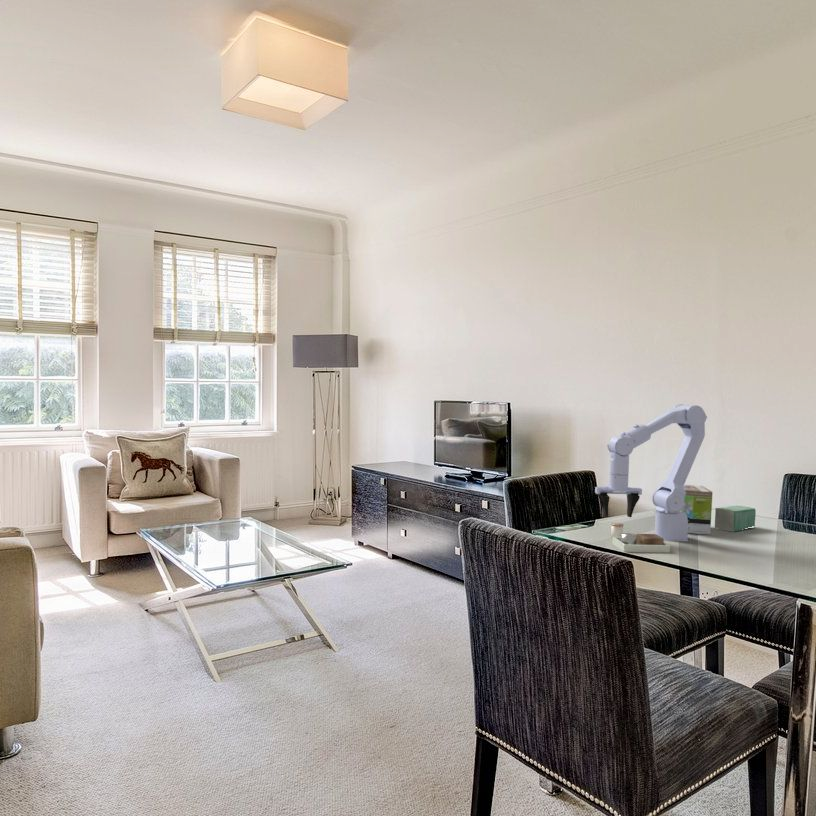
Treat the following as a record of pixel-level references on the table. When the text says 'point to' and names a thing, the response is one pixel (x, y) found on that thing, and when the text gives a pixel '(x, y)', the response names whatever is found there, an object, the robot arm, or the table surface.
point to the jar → (616, 529)
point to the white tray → (640, 547)
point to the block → (649, 539)
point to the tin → (628, 538)
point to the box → (734, 518)
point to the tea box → (698, 509)
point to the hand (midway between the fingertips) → (617, 516)
